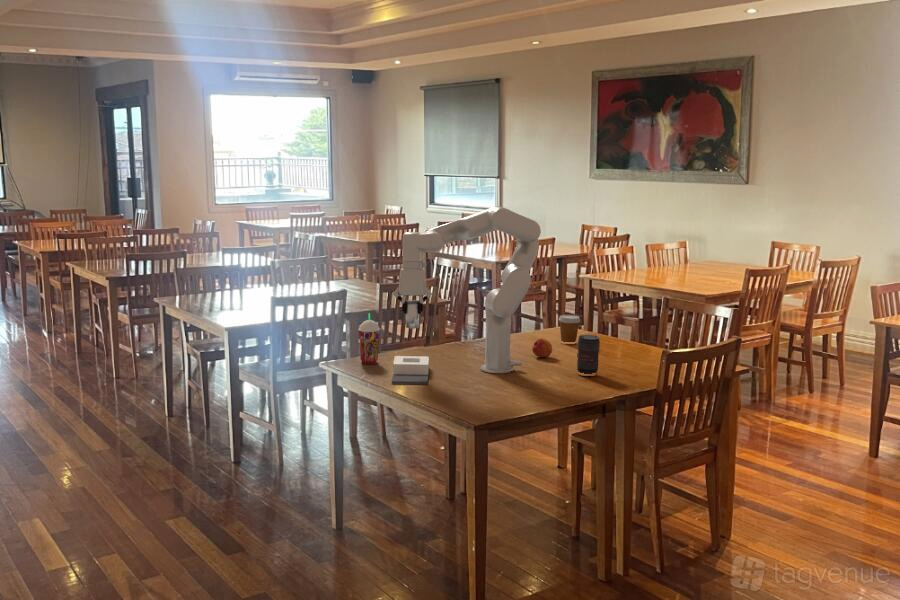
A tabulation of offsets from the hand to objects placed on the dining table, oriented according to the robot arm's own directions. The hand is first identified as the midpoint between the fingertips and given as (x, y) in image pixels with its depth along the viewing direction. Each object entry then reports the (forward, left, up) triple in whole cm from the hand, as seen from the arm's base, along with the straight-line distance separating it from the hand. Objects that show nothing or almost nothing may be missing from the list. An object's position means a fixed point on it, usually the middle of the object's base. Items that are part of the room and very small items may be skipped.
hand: (412, 312), depth 329 cm
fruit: (-53, -27, -23) cm, 64 cm away
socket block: (0, 0, -23) cm, 23 cm away
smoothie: (+17, -13, -23) cm, 31 cm away
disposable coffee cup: (-68, -55, -23) cm, 90 cm away
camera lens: (-67, +1, -23) cm, 71 cm away
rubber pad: (0, +13, -23) cm, 26 cm away
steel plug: (0, 0, -6) cm, 6 cm away
